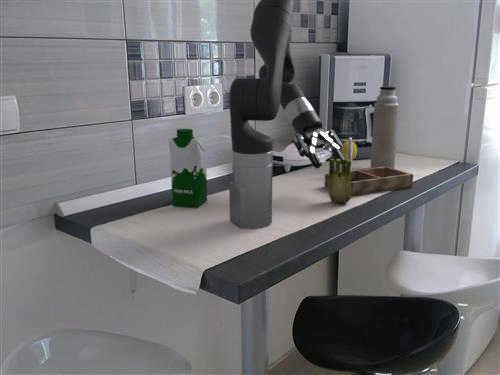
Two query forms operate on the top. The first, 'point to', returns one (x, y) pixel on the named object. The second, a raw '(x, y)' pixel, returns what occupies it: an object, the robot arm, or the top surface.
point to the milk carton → (188, 168)
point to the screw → (350, 151)
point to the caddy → (377, 180)
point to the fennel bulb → (339, 181)
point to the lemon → (344, 150)
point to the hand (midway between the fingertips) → (330, 164)
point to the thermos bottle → (385, 129)
